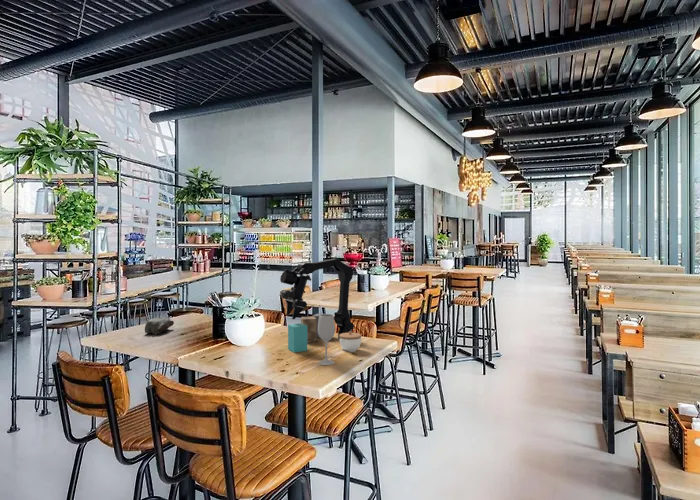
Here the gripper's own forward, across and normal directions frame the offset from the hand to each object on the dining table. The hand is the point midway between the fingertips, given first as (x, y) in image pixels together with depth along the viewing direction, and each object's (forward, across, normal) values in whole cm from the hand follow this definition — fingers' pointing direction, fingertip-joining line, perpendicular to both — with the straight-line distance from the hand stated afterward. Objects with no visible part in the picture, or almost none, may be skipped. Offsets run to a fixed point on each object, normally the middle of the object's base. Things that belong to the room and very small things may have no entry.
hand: (290, 317), depth 217 cm
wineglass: (+11, +34, +10) cm, 37 cm away
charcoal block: (+9, -11, +25) cm, 28 cm away
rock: (+35, -65, -50) cm, 89 cm away
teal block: (+13, +10, +5) cm, 17 cm away
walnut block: (+11, -6, +16) cm, 20 cm away
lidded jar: (+7, +19, +28) cm, 34 cm away
